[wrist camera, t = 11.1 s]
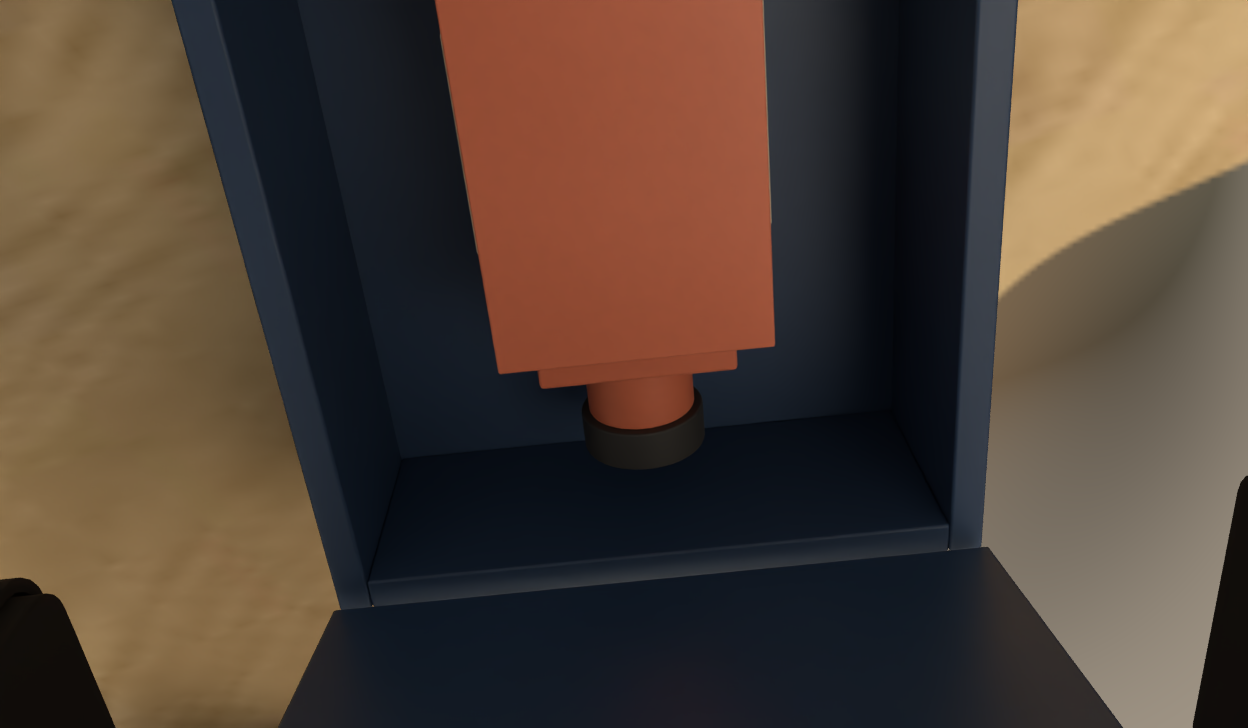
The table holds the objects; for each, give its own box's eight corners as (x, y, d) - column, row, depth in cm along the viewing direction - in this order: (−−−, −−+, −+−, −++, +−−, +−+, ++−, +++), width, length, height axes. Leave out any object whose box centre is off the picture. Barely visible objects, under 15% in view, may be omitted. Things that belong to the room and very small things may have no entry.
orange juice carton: (452, -142, 24) (411, -128, 18) (717, -172, 24) (758, -165, 18) (534, 388, 30) (522, 524, 24) (745, 367, 30) (782, 498, 24)
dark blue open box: (213, -251, 23) (93, -272, 18) (932, -331, 23) (1045, -378, 17) (383, 468, 32) (340, 612, 26) (910, 416, 32) (982, 549, 26)
